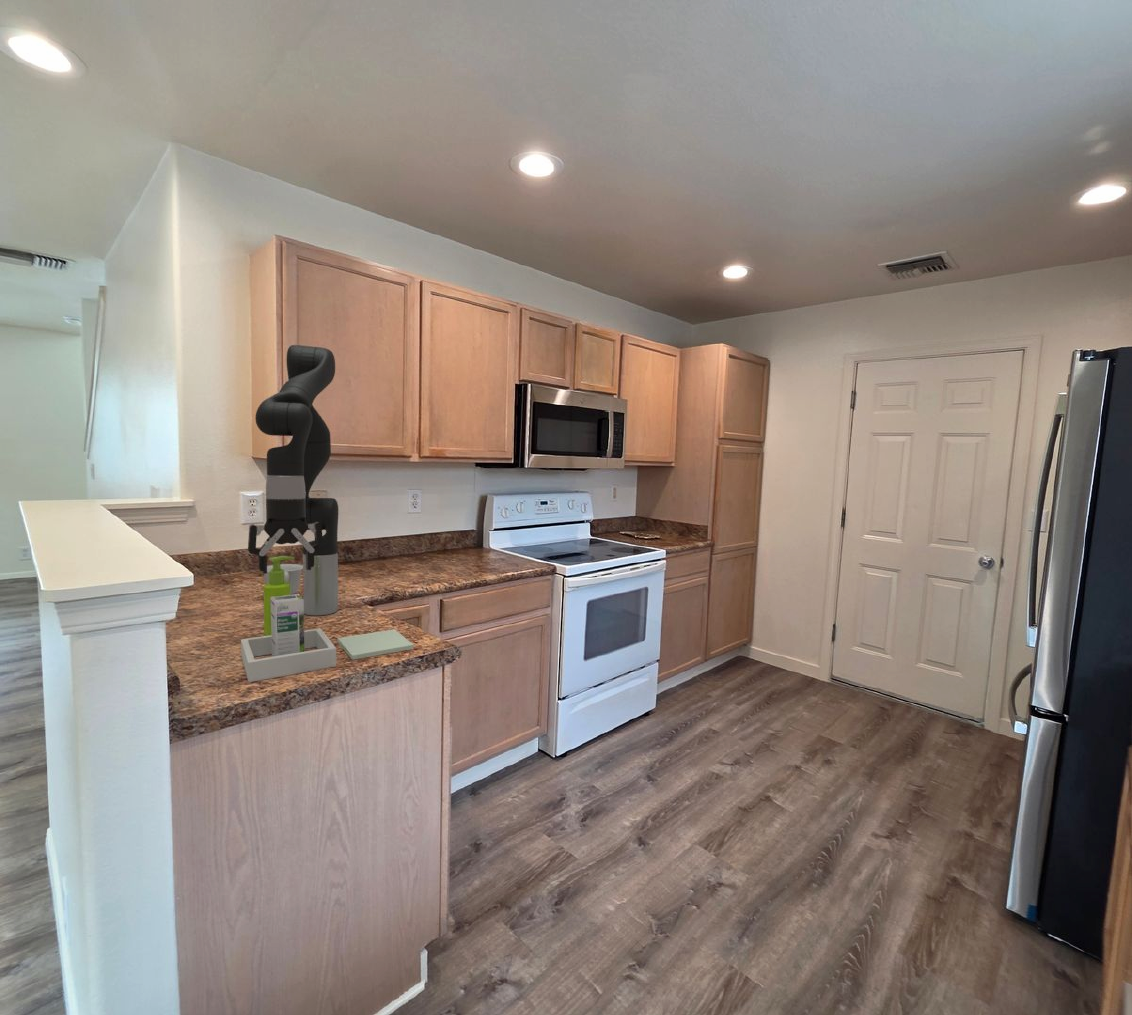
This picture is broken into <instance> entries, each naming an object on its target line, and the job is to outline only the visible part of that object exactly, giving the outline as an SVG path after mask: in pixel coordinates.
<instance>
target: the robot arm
mask: <svg viewBox="0 0 1132 1015" xmlns="http://www.w3.org/2000/svg"><path fill="white" fill-rule="evenodd" d="M286 370H287V378H288V379H287V381H286V382H284V384H283V385H282V387H281V388H280V390H279V391H278V392H277V393H274V394H273V395H271V396H270V397H267V398H266V399H265V400H263V401H262V402H261V403H260V404H259V406H258V407H257V410H256V411H255V412H256V413H255V424H256V426H257V428H258V429H259V431H261V433H263V434H265V435H268V436H276V437H277V436H278V437H280V436H281V437H292V438H291V440H290V442H289V443H287V444H286V445H285V444H284V445H281V446H276V447H271V448H269V449H268V450H267V451H266V482H265V511H266V512H265V523H264V525H263V524H261V525H260V524H256V525H255V524H250V525H249V526H248V541H247V542H248V543H247V551H248V553H249V554H251V555H255V556H257V558H258V570H259V571H260V572H261V573H262V574H263V575H264V574H267V566H268V556H267V553H268V552H269V551H270V549H271V548H272V547H274V545H275V544H278V545H285V544H290V545H292V544H293V545H294V544H296V543H298V542H299V544H300V545H301V546H302V566H303V569H302V577H303V578H302V581H303V582H302V584H303V585H302V586H303V589H302V590H303V592H302V595H303V596H302V598H303V600H304V615H306V616H326V615H332V614H334V613H337V612H338V611H339V557H338V556H339V555H338V554H339V553H338V552H339V550H338V548H339V546H338V530H339V529H338V528H339V526H338V525H339V503H338V501H337V499H336V498H334V497H310V491H311V488H312V486H313V484H314V483H315V481H316V479H317V477H318V476H319V474H320V473H321V472H322V471H323V469H324V468H325V466H326V465H327V463H328V462H329V461H330V458H331V455H332V449H331V448H332V447H331V446H332V444H331V431H330V429H329V426H328V425H327V423H326V422H325V420H324V418H323V417H322V416H321V415H320V414H319V412H318V411H317V410H316V408H315V407H314V405H313V404H314V401H315V399H316V398H317V397H318V395H319V394H321V393H322V392H323V391H324V390H325V389H326V388H327V387H328V386H329V385H331V383H332V382H333V380H334V378H335V375H336V359H335V355H334V353H333V352H332V351H331V350H330V349H329V348H326V347H322V346H321V347H319V346H309V345H302V344H301V345H300V344H292V345H291V344H290V346H289V347H288V348H287V351H286ZM263 531H264V532H265V533H266V534H267V535H268V537H267V539H266V540H264V542H263V544H262V545H261V546H260V548H257V536H260V535H261V533H262V532H263ZM307 531H311V533H314V534H313V536H314V539H313V540H310V541H308V540H307V539H306V538H305V536H304V535H305V534H306V532H307ZM323 531H325V533H324V535H323Z"/></svg>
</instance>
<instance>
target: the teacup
mask: <svg viewBox="0 0 1132 1015" xmlns="http://www.w3.org/2000/svg"><path fill="white" fill-rule="evenodd" d="M280 565H281V569H282V570H284V577H285V582H286V583H290V595H295V594H297V592H298V591H299V589H300V585H301V577H302V573H303V564H298V563H297V564H296V563H282V564H281V563H280ZM272 569H273V564H271V565H267V574H263V576H264V581H265V583H264V584H265V585H266V584H269V571H271V570H272Z"/></svg>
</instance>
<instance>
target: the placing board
mask: <svg viewBox="0 0 1132 1015" xmlns="http://www.w3.org/2000/svg"><path fill="white" fill-rule="evenodd" d="M337 643H338V644H339V646H340V647H341V648H342V649H343V651H344V652H345V653H346V654H347V656H348V657H349V658H350V659H351V660H352V661H353V660H359V659H364V658H371V657H376V656H380V655H388V654H393V653H398V652H399V653H400V652H403V651H410V650H414V646H415V645H414V644H413V643H412V642H411V641H410V640H408V639H407V638H406V637H405V636H403V634H401V633H400V632H399V631H398V630H397V629H395V628H394V629H388V630H382V631H376V632H375V631H374V632H370V633H369V632H368V633H362V634H355V635H349V636H343V637H342V636H341V637H337Z"/></svg>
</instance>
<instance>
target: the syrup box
mask: <svg viewBox="0 0 1132 1015" xmlns="http://www.w3.org/2000/svg"><path fill="white" fill-rule="evenodd" d="M304 631H305V614H304V600H303V596H302V595H301V594H299V593H294V594H293V595H285V596H276V597H271V635H272V654H271V657H274V656H281V655H287V654H293V653H299V652H305V649H304Z"/></svg>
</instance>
